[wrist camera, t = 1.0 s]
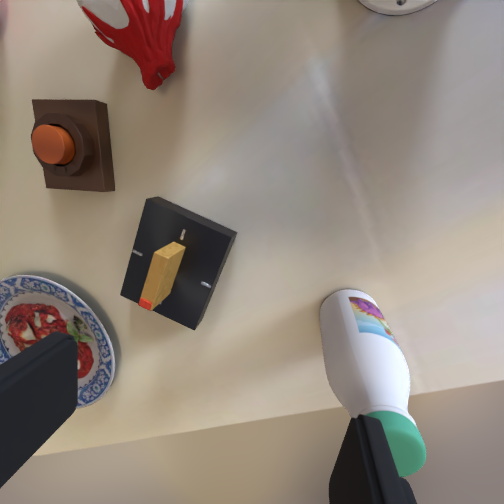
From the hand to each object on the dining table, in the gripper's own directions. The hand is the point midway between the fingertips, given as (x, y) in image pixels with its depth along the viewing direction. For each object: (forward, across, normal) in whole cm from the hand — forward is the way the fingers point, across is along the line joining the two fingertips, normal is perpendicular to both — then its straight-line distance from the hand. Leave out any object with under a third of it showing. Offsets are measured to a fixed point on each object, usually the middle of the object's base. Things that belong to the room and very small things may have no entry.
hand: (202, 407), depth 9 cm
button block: (+29, +28, -6) cm, 41 cm away
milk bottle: (+29, -12, +9) cm, 33 cm away
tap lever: (+26, +13, +7) cm, 30 cm away
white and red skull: (+29, +18, -22) cm, 40 cm away
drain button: (+25, +29, -6) cm, 39 cm away
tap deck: (+29, +13, +7) cm, 33 cm away
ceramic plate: (+30, +34, +27) cm, 53 cm away
